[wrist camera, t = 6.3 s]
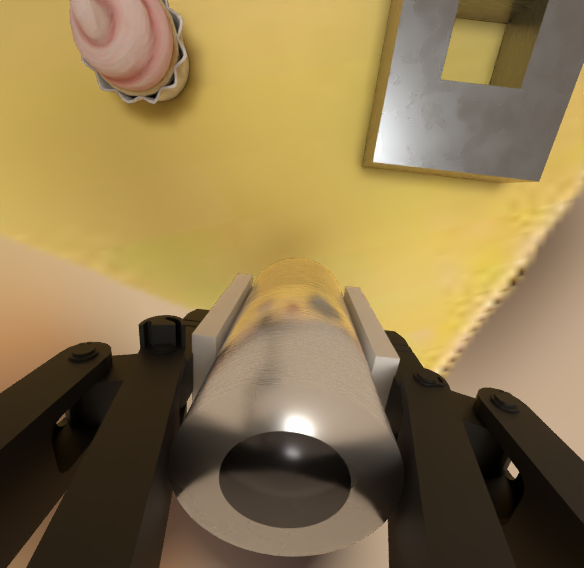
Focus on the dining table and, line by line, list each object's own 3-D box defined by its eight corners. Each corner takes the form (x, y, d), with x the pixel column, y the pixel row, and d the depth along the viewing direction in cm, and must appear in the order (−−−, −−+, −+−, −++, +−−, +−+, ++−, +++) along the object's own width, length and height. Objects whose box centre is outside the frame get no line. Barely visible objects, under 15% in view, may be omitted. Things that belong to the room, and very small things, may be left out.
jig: (407, -91, 23) (434, -162, 19) (586, -71, 23) (658, -137, 19) (361, 166, 30) (372, 161, 25) (501, 182, 30) (539, 181, 25)
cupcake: (199, 128, 29) (150, 99, 20) (111, 105, 29) (17, 64, 19) (212, 20, 26) (161, -75, 17) (114, -8, 26) (5, -121, 16)
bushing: (254, 252, 15) (162, 371, 5) (349, 263, 15) (434, 403, 5) (248, 336, 16) (170, 545, 7) (334, 346, 16) (377, 569, 7)
